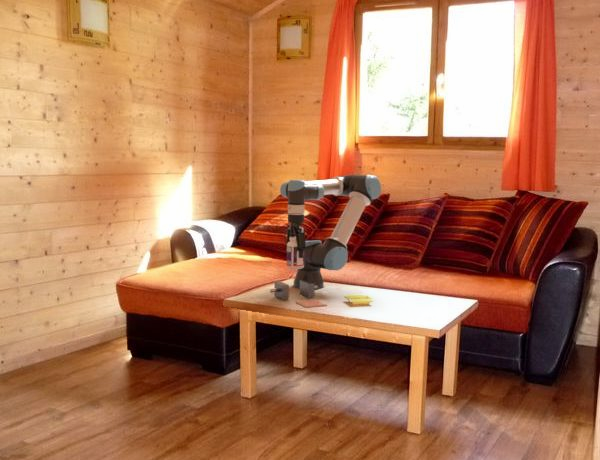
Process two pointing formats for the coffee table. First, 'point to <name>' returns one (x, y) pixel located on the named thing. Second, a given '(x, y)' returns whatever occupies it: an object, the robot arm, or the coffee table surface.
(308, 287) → the vise
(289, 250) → the pill bottle
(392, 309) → the coffee table surface
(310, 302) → the tile
